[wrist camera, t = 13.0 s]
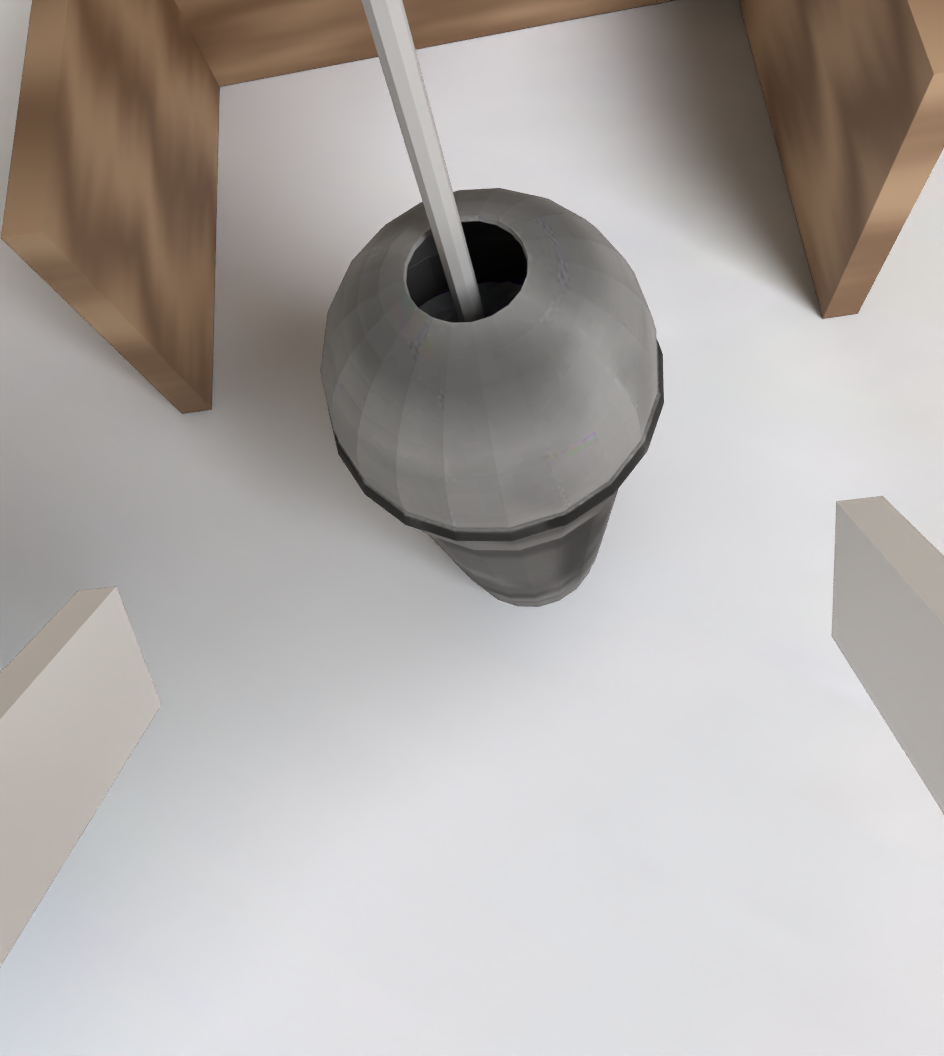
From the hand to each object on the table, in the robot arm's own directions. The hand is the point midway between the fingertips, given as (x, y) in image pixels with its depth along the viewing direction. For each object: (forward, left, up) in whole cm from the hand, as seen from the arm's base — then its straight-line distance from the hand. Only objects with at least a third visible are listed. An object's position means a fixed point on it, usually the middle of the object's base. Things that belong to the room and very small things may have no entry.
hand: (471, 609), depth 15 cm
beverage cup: (+4, -4, -13) cm, 14 cm away
